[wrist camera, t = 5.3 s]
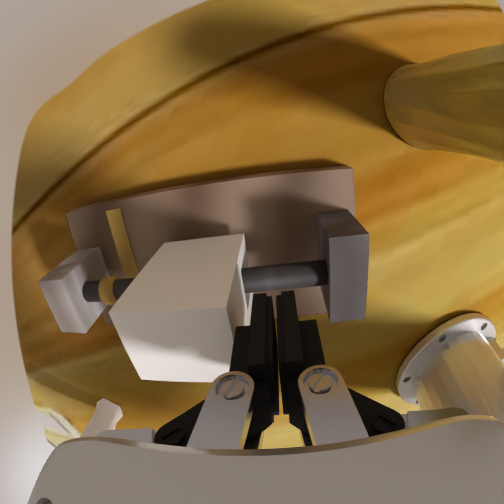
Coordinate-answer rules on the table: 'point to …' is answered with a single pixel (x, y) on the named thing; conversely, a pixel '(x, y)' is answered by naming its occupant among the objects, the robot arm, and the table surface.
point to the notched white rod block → (185, 310)
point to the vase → (451, 103)
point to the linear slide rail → (220, 224)
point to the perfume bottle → (103, 418)
